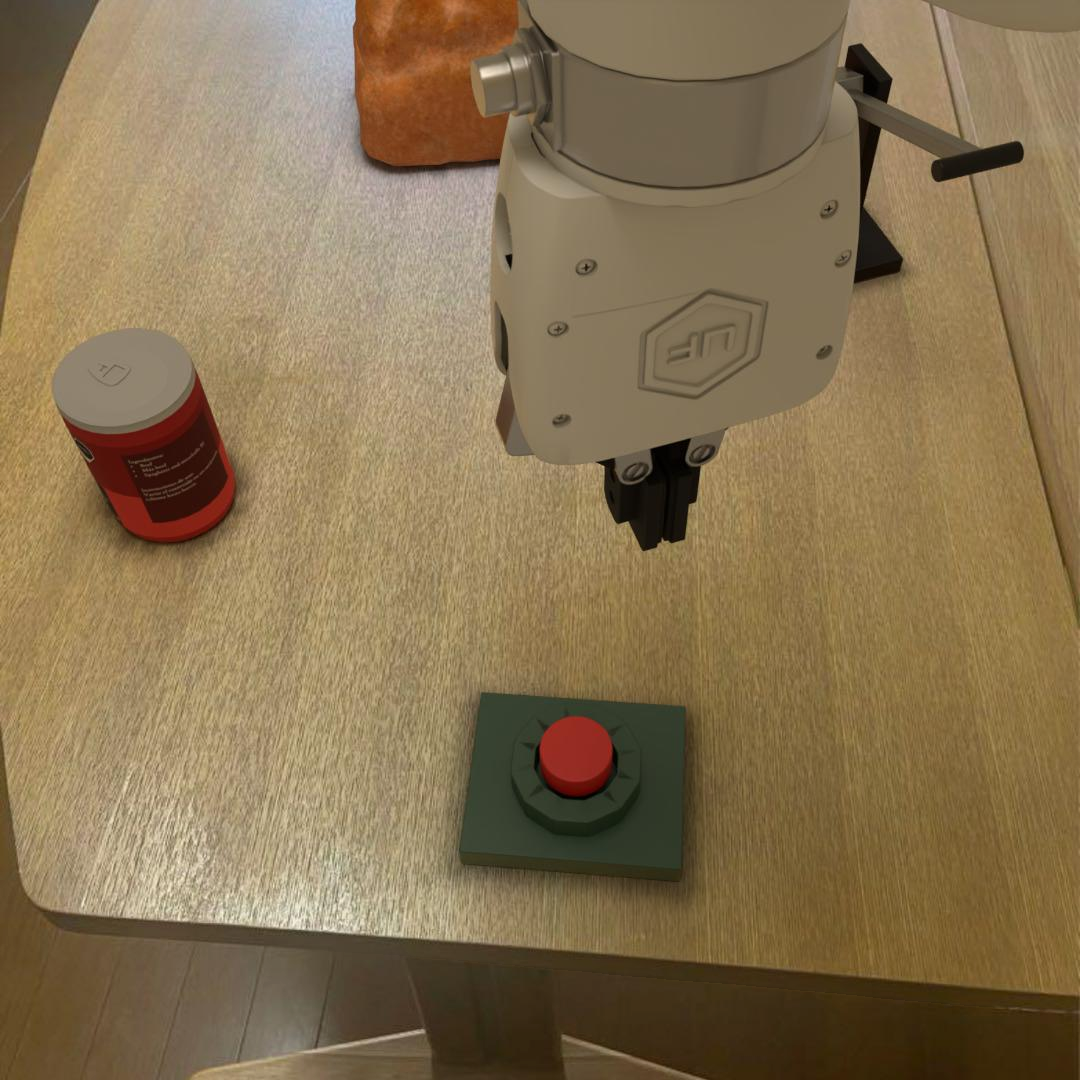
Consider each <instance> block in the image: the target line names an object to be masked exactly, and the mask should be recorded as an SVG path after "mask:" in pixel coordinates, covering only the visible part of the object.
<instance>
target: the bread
mask: <svg viewBox="0 0 1080 1080" xmlns="http://www.w3.org/2000/svg"><path fill="white" fill-rule="evenodd" d="M354 2H355V4H354V16H355V17H354V18H355V21H354V23H353V25H352V43H353V44H352V45H353V56H354V59H353V60H354V97H355V103H356V107H357V111H358V116H359V130H360V131H359V133H360V135H359V136H360V137H359V139H360V146H361V147H362V148H363V150H364V151H365V152H366V154H367V155H368V156H369V157H370V158H372V159H374V160H377V161H379V162H383V163H385V164H388V165H389V166H392V167H408V166H409V167H411V166H436V165H437V166H439V165H443V164H448V163H450V162H454V163H455V162H456V163H457V162H460V163H461V162H480V161H485V160H486V161H487V160H488V161H489V160H500V159H501V154H502V148H503V142H504V137H505V133H506V128H507V124H508V119H509V115H510V112H507V113H502V114H498V115H493V116H488V117H484V118H483V116H482V115H481V114H480V112H479V109H478V107H477V104H476V100H475V97H474V92H473V88H472V81H471V73H470V64H471V60H472V59H475V58H479V57H484V56H489V55H494V54H498V53H499V49H500V48H501V47H503V46H508V45H512V44H513V39H514V34H515V30H516V29H519V19H518V0H355V1H354Z"/></svg>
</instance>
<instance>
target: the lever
mask: <svg viewBox="0 0 1080 1080" xmlns="http://www.w3.org/2000/svg"><path fill="white" fill-rule="evenodd" d="M863 77H864V76H863V75H861V74H859V73H856V72H854V71H852V70H850V69H848V68H845V67H844V66H842V65H841V66H838V68H837V74H836V79H835V81H836V82H837V83H838V84H839V85H840V86H842V87H843V88H844V89H845V90H846V91H847V93H848V94H849V95H850V96H851V98H852V99H853V101H854V103H855V105H856V108H857V112H858V116H859V117H861V118H863V119H865V120H866V121H868V122H870V123H872V124H874V125H876V126H878V127H880V128H881V130H884V131H887V132H888V133H890V134H892V135H894V136H896V137H898V138H900V139H902V140H904V141H906V142H908V143H910V144H912V145H914V146H916V147H918V148H920V149H921V150H924V151H925V152H928V153H929V154H932V155H933V156H935V157H937V158H938V159H934V160H933V161H932V163H931V166H930V173H931V177H932V179H933V180H934V182H936V183H942V182H946V181H950V180H954V179H958V178H959V179H960V178H963V177H967V176H971V175H975V174H979V173H983V172H987V171H992V170H995V169H1001V168H1004V167H1009V166H1012V165H1016V164H1020V163H1021V162H1023V160H1024V157H1025V149H1024V146H1023V144H1022V143H1021V142H1020V141H1019V140H1014V141H1009V142H1005V143H1001V144H996V145H993V146H988V147H985V148H982V147H980V146H978V145H976V144H974V143H972V142H969V141H967V140H964V139H962V138H961V137H958V136H957V135H955V134H952V133H950V132H947V131H946V130H943V129H942V128H939V127H937V126H935V125H933V124H931V123H929V122H928V121H927V122H926V121H924V120H922V119H921V118H918V117H916V116H914V115H912V114H910V113H908V112H906V111H904V110H902V109H900V108H897V107H895V106H893V105H890V104H888V102H887V103H884V102H882V101H880V100H878V99H876V98H874V97H872V96H870V95H867V94H865V93H863Z"/></svg>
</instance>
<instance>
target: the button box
mask: <svg viewBox="0 0 1080 1080" xmlns="http://www.w3.org/2000/svg"><path fill="white" fill-rule="evenodd" d="M686 713H687V708H686V706H685V705H674V704H673V705H672V704H671V705H670V704H656V703H643V702H629V701H614V700H601V699H600V700H599V699H587V698H586V699H584V698H571V697H558V696H541V695H529V694H528V695H526V694H516V693H515V694H513V693H498V692H484V691H482V692H480V698H479V704H478V711H477V719H476V726H475V734H474V740H473V747H472V754H471V762H470V769H469V775H468V776H469V777H468V783H467V790H466V797H465V805H464V812H463V817H462V818H463V819H462V826H461V833H460V840H459V847H458V852H459V856H460V862H461V864H462V865H474V866H485V867H498V868H509V869H510V868H512V869H522V870H534V871H535V870H536V871H548V872H559V873H571V874H586V875H595V876H596V875H597V876H610V877H619V878H620V877H622V878H631V879H632V878H633V879H644V880H645V879H646V880H657V881H669V882H670V881H671V882H679V881H680V880H681V876H682V875H681V874H682V869H683V835H684V834H683V833H684V832H683V830H684V797H685V796H684V795H685V794H684V793H685V792H684V791H685V759H686V758H685V755H686V718H687V717H686V715H687V714H686ZM572 716H580V717H586V718H589V719H592V720H594V721H596V722H597V723H599V724H600V725H601V726H602V727H603V728H604V729H605V730H606V731H607V733H608V734H609V736H610V739H611V742H612V747H613V753H612V769H611V773H610V776H609V778H608V780H607V781H606V782H605V784H604V785H603V786H602V787H601V788H600V789H598V790H597V791H595V792H593V793H591V794H588V795H585V796H568V795H564V794H562V793H559V792H558V791H556V790H554V789H553V788H552V787H551V786H550V785H549V784H548V783H547V782H546V780H545V779H544V777H543V774H542V771H541V765H540V742H541V739H542V736H543V734H544V733H545V731H546V730H547V729H548V728H549V727H550V726H551V725H552V724H553V723H555V722H556V721H558V720H560V719H563V718H566V717H572Z"/></svg>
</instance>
